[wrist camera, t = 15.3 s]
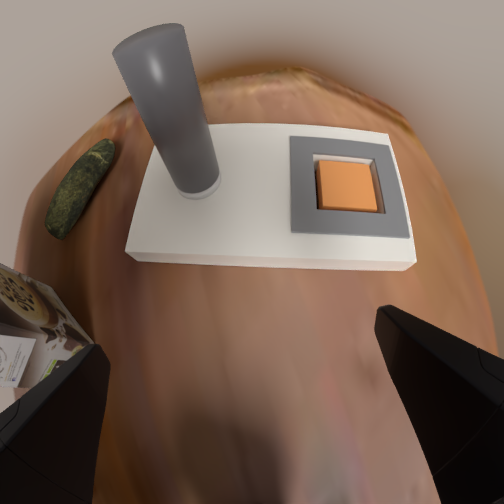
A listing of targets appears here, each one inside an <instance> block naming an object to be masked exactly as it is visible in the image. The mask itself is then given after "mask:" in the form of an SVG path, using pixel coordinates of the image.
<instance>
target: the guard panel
mask: <svg viewBox="0 0 504 504" xmlns="http://www.w3.org/2000/svg"><path fill="white" fill-rule="evenodd" d="M208 127H209V131H210V135H211V138H212V142H213V146H214V150H215V154H216V158H217V162H218V166H219V169H220V173H221V183H220V185H219V187H218V189H217V190H216V191H215V192H214V193H213V194H211V195H210V196H208V197H206V198H203V199H199V200H191V199H187V198H185V197H183V196H182V195H181V194H180V193H179V191H178V189H177V188H176V186H175V184H174V182H173V180H172V178H171V176H170V174H169V172H168V170H167V168H166V166H165V164H164V162H163V160H162V158H161V156H160V154H159V152H158V150H157V148H156V146H154V149H153V152H152V154H151V157H150V160H149V163H148V167H147V170H146V173H145V176H144V179H143V183H142V186H141V189H140V193H139V196H138V200H137V204H136V207H135V211H134V215H133V219H132V223H131V227H130V231H129V235H128V240H127V244H126V249H125V252H126V253H128V254H129V255H130V256H131V257H133V258H134V259H135V260H136V261H144V262H163V263H182V264H203V265H225V266H249V267H276V268H305V269H339V270H381V271H405V270H406V269H408V268H409V267H410V266H412V265H413V264H414V263H416V262H417V260H416V253H415V246H414V240H413V234H412V228H411V222H410V217H409V212H408V207H407V203H406V198H405V194H404V190H403V185H402V181H401V177H400V174H399V170H398V166H397V163H396V159H395V156H394V152H393V149H392V146H391V143H390V140H389V136H388V134H383V133H377V132H370V131H363V130H355V129H347V128H337V127H327V126H314V125H298V124H270V123H239V124H211V125H208ZM319 160H323V161H336V162H347V163H357V164H367V165H369V168H370V172H371V177H372V182H373V188H374V193H375V199H376V205H377V211H376V212H375V213H367V212H353V211H337V210H319V209H317V205H316V188H315V174H314V171H317V168H318V164H319Z"/></svg>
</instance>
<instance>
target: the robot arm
mask: <svg viewBox="0 0 504 504" xmlns="http://www.w3.org/2000/svg"><path fill="white" fill-rule="evenodd" d="M374 330H375V335H376V338H377V340H378V343H379V346H380V349H381V352H382V354H383V357H384V360H385V363H386V366H387V369H388V372H389V374H390V376H391V379H392V381H393V383H394V385H395V387H396V389H397V391H398V394H399V396H400V398H401V400H402V403H403V405H404V407H405V409H406V412H407V414H408V416H409V418H410V421H411V423H412V426H413V428H414V430H415V433H416V435H417V438H418V440H419V443H420V445H421V448H422V450H423V453H424V455H425V458H426V461H427V463H428V466H429V469H430V471H431V474H432V476H433V480H434V483H435V486H436V489H437V492H438V495H439V498H440V501H441V504H504V359H501V358H499V357H497V356H495V355H493V354H491V353H488V352H486V351H484V350H482V349H480V348H477V347H476V346H474V345H472V344H470V343H468V342H466V341H464V340H462V339H460V338H458V337H456V336H454V335H452V334H450V333H448V332H446V331H444V330H442V329H440V328H438V327H436V326H434V325H432V324H430V323H428V322H426V321H424V320H421V319H419V318H417V317H415V316H413V315H411V314H409V313H407V312H405V311H403V310H401V309H399V308H397V307H395V306H393V305H385V306H381V307H379V308H378V309H377V314H376V320H375V327H374ZM109 375H110V361H109V359H108V358H107V356H106V354H105V353H104V351H103V349H102V347H101V346H100V345H99V344H88V345H86V346H85V347H84V348H82V349H81V350H80V351H78V352H77V353H76V354H75V355H73V356H72V357H71V358H69V359H68V360H67V361H66V362H64V363H63V364H62V365H60V366H59V367H58V368H57V369H55V370H54V371H53V372H52V373H50V374H49V375H48V376H46V377H45V378H44V379H43V380H41V381H40V382H39V383H38V384H36V385H35V386H34V387H33V388H32V389H30V390H29V391H28V392H27V393H25V394H24V395H23V396H22V397H21V398H19V399H18V400H17V401H15V402H14V403H13V404H12V405H11V406H9V407H8V408H7V409H6V410H4V411H3V412H1V413H0V504H92V497H93V485H94V476H95V467H96V460H97V453H98V446H99V440H100V434H101V428H102V423H103V417H104V412H105V407H106V400H107V391H108V383H109Z"/></svg>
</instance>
